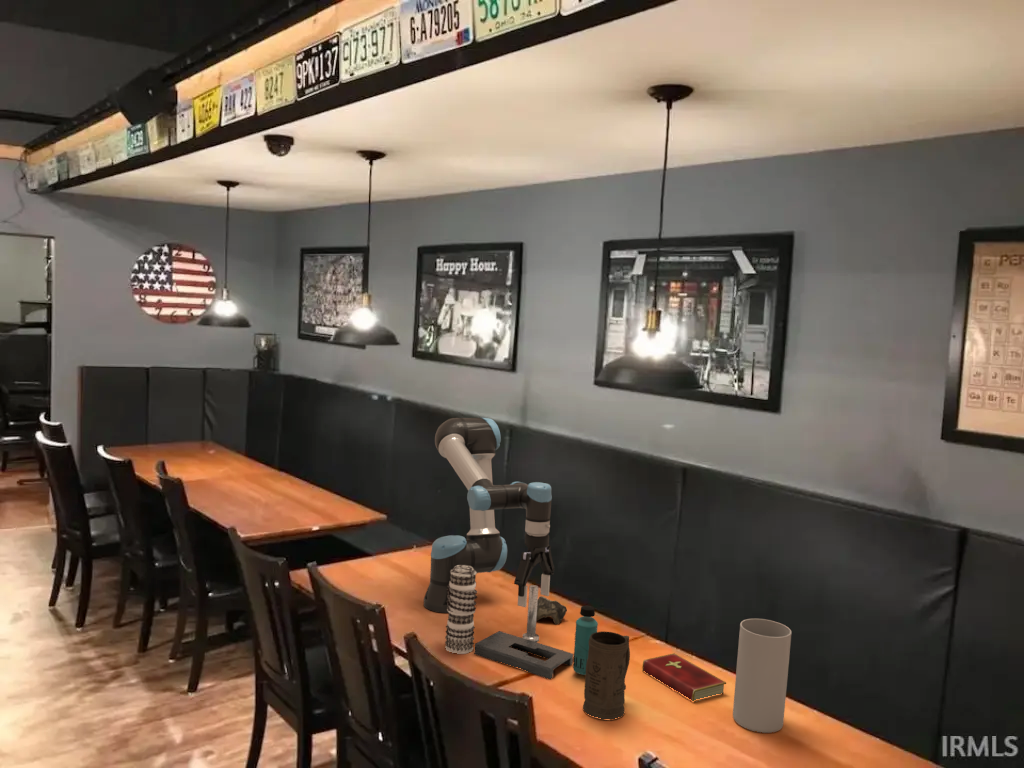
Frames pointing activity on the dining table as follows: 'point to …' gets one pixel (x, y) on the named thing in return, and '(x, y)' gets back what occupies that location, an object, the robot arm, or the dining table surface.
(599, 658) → the beer stein
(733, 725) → the dining table surface
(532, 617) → the steel peg
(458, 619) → the decorative candle
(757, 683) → the cylinder vase
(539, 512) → the robot arm
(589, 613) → the beverage bottle
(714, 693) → the hardcover book
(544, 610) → the fossil
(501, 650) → the keyhole plate
